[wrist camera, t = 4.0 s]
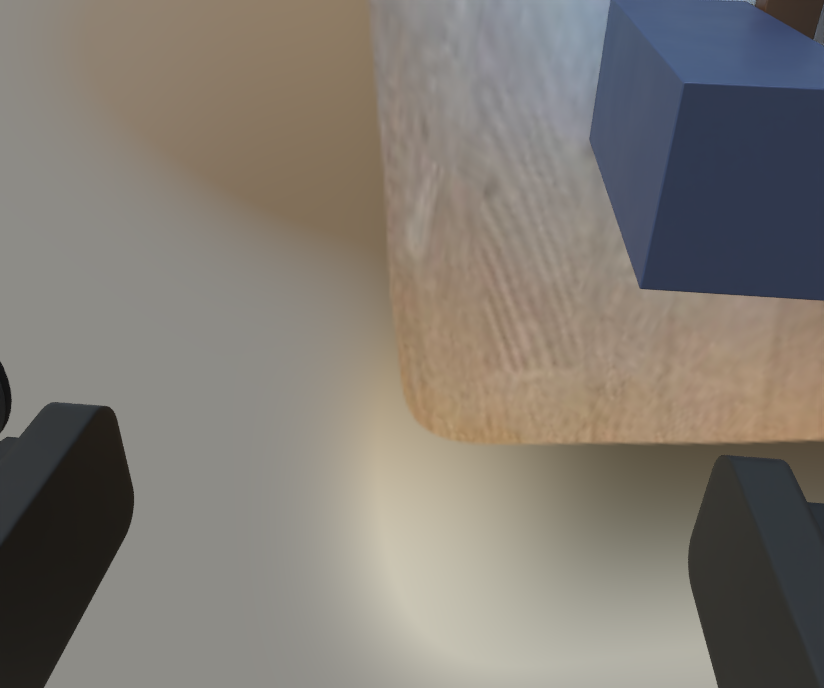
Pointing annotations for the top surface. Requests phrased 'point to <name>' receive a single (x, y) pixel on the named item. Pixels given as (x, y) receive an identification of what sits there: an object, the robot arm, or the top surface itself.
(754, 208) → the navy box
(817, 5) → the stop strip
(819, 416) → the top surface
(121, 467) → the robot arm
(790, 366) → the top surface
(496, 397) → the top surface
